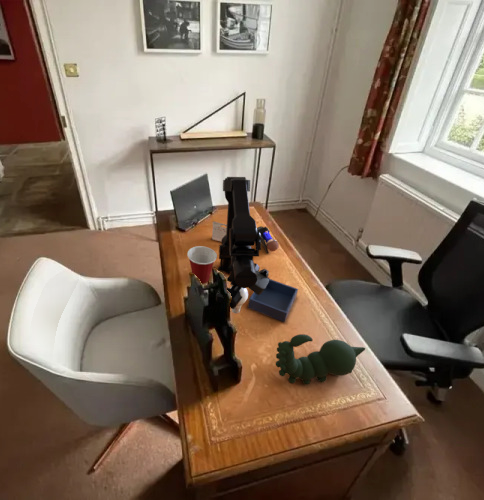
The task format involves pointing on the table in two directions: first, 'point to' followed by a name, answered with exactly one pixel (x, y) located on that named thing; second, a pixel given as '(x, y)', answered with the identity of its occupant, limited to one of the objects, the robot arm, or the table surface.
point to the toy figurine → (316, 359)
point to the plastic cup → (202, 262)
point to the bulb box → (274, 300)
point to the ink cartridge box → (218, 231)
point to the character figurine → (267, 239)
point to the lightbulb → (244, 297)
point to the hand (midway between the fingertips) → (236, 301)
